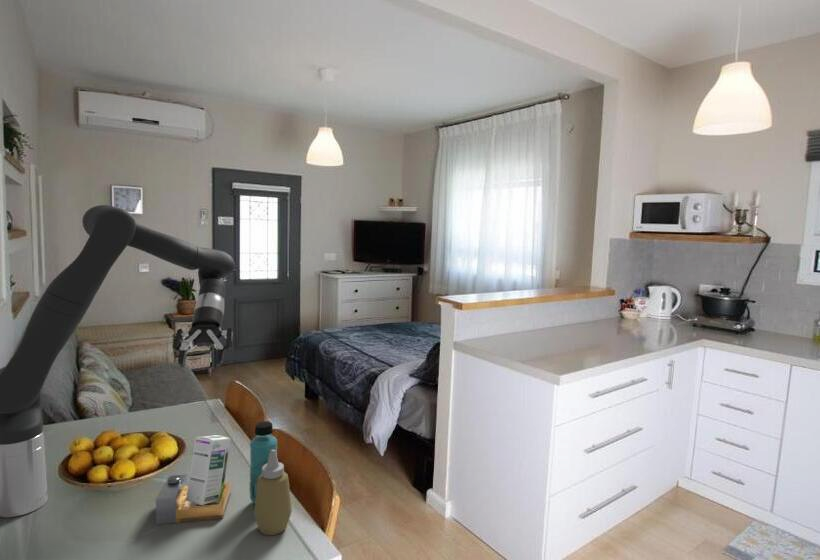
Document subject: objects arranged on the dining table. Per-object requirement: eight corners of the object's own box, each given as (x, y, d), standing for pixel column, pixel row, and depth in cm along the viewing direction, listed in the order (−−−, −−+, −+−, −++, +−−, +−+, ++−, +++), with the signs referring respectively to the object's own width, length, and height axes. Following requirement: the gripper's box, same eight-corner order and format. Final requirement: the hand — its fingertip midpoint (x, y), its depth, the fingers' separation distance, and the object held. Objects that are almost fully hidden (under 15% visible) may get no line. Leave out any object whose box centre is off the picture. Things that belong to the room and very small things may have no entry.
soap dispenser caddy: (156, 524, 104) (155, 495, 104) (170, 498, 114) (169, 472, 113) (223, 518, 107) (222, 490, 106) (230, 494, 117) (230, 468, 116)
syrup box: (202, 505, 107) (212, 439, 109) (184, 500, 109) (195, 435, 112) (222, 500, 111) (231, 437, 114) (204, 496, 114) (214, 434, 117)
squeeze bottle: (281, 542, 100) (281, 462, 98) (247, 536, 101) (246, 457, 99) (298, 519, 108) (298, 444, 106) (265, 514, 109) (265, 440, 107)
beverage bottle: (243, 506, 112) (242, 426, 110) (262, 492, 118) (261, 416, 116) (266, 513, 109) (265, 431, 107) (283, 498, 116) (283, 421, 113)
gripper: (178, 305, 126) (166, 359, 116) (234, 305, 129) (227, 357, 119) (184, 320, 132) (173, 373, 122) (237, 320, 134) (231, 371, 124)
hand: (199, 365), depth 120 cm, fingers open, 8 cm apart
